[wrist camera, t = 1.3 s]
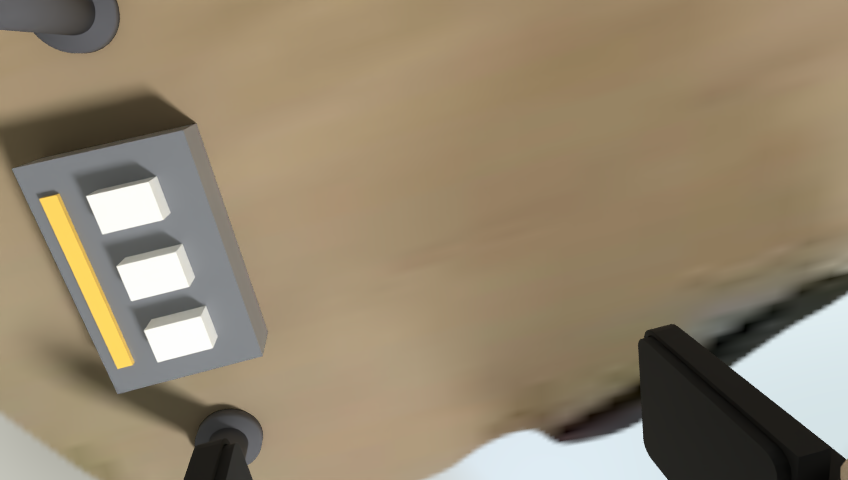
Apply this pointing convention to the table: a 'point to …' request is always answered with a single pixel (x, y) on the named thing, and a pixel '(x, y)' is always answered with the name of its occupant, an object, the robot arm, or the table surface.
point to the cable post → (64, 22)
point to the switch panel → (178, 227)
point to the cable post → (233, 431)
